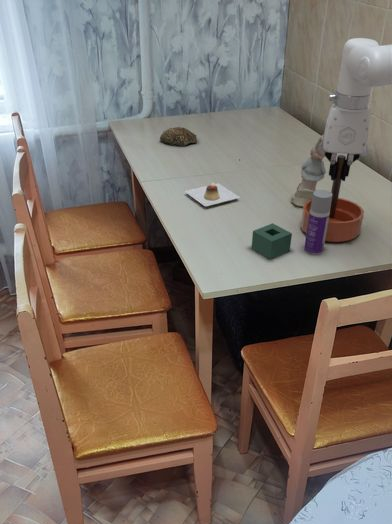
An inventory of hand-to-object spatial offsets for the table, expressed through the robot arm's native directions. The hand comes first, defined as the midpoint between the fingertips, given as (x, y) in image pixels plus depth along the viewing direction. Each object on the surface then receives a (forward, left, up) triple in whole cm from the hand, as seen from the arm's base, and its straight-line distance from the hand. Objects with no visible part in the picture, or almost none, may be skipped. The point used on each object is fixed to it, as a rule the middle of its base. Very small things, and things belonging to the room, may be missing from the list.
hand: (337, 178), depth 136 cm
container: (-5, +12, -14) cm, 19 cm away
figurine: (+16, -8, -14) cm, 23 cm away
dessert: (+35, +12, -14) cm, 39 cm away
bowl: (0, 0, -14) cm, 14 cm away
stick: (0, 0, -11) cm, 11 cm away
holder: (+2, +20, -14) cm, 25 cm away
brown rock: (+80, -10, -14) cm, 81 cm away
